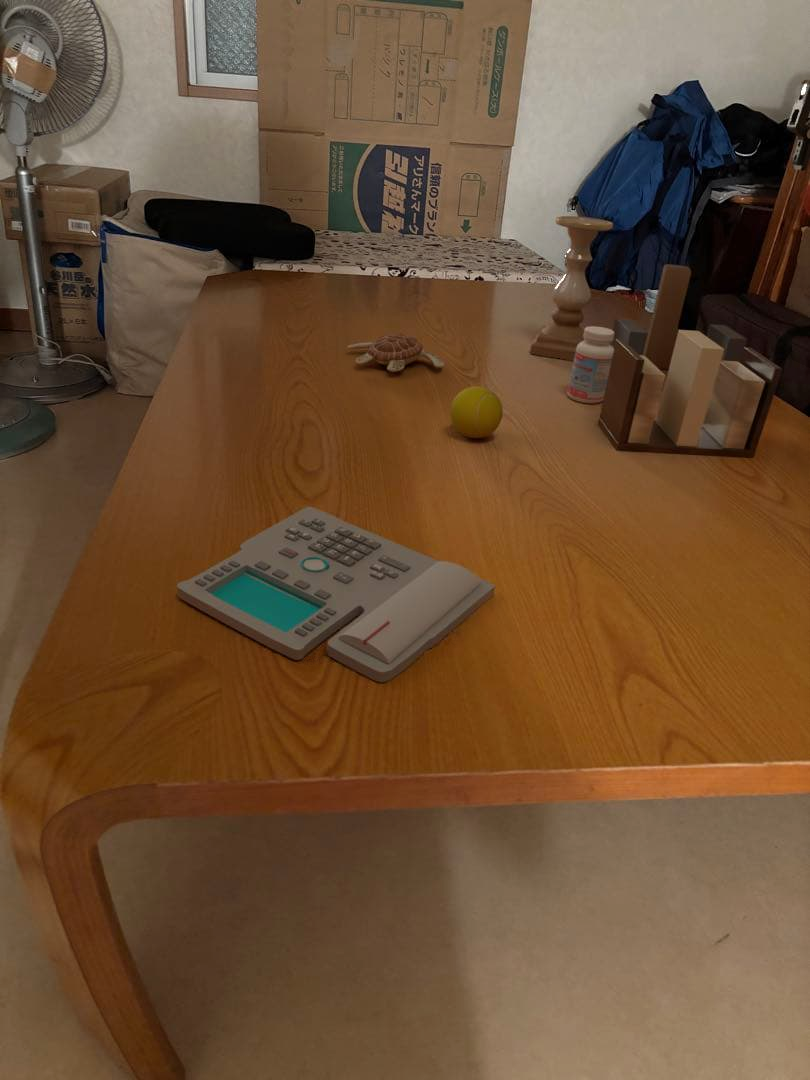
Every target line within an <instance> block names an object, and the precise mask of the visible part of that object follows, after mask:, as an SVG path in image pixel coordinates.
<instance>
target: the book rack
mask: <svg viewBox="0 0 810 1080" xmlns="http://www.w3.org/2000/svg"><path fill="white" fill-rule="evenodd" d="M782 372H783V368H782V367H780V366H779V365H778V364H776V363H774V362H773V361H771V360H770V359H768V358H767V357H765V356H764V355H762V353H760V352H757V351H756V350H755V349H753V347H746V346H745V347H744V350H743V353H742V356H741V360H740V363H739V362H737V361H721V363H720V366H719V370H718V373H717V377H716V380H715V384H714V387H713V391H712V394H711V398H710V401H709V405H708V408H707V412H706V415H705V419H704V422H703V426H702V429H701V433H700V436H699V440H698V443H697V446H696V447H692V446H676V445H675V444H674V442H673V441H672V440H671V439H670V438H669V437H668V436H667V435H666V433H665V432H664V431H663V430H662V429H661V428H660V427H659V426H658V424H657V423H656V416H657V415H656V414H657V412H658V411H657V410H658V408H659V407H658V406H659V404H660V400H661V399H660V398H661V396H662V392H663V388H664V384H665V380H666V374H665V373H664V372H662V371H661V369H658V368H657V367H656V366H655V365H654V364H653V363H652V362H651V361H650V360H649V359H648V358H646V357H645V356H643V355H639V354H638V353H637V352H636V351H634V350H633V349H632V348H631V347H630V346H629V345H628V344H627V343H626V342H625V341H624V340H623V339H616V343H615V348H614V352H613V357H612V362H611V366H610V371H609V376H608V380H607V385H606V390H605V394H604V399H603V401H602V404H601V407H600V413H599V418H598V423H597V424H598V426H599V427H600V429H601V430H602V433H604V435H605V436H606V438H607V439H608V440H609V442H610V443H611V444H612V446H613V448H614V449H615V450H616V451H621V452H638V453H639V452H640V453H658V454H661V453H662V454H675V455H676V454H678V455H679V454H680V455H697V456H713V457H730V458H731V457H732V458H753V459H754V457H755V454H756V451H757V448H758V445H759V442H760V440H761V436H762V433H763V430H764V428H765V424H766V421H767V419H768V414H769V412H770V408H771V405H772V402H773V399H774V396H775V393H776V391H777V387H778V384H779V381H780V378H781V375H782Z"/></svg>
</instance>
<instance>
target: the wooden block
mask: <svg viewBox="0 0 810 1080" xmlns="http://www.w3.org/2000/svg"><path fill="white" fill-rule="evenodd" d="M691 275H692V270H691V268H690V267H689V266H688V265H678V264H671V263H670V264H669V263H665V264H664V265H663V268H662V273H661V277H660V281H659V285H658V290H657V293H656V294H657V295H656V298H655V303H654V306H653V311H652V316H651V319H650V324H649V328H648V331H647V332H648V335H647V339H646V344H645V348H644V352H643V356H645V357H646V358H648V359H649V360H650V361H651V362H652V363H653V364H654V365H655V366H656V367H657V368H658V369H659V370H666V371H669V367H670V363H671V359H672V355H673V351H674V347H675V343H676V339H677V335H678V331H679V323H680V320H681V316H682V312H683V308H684V304H685V301H686V300H685V299H686V296H687V292H688V289H689V283H690V278H691V277H692V276H691Z"/></svg>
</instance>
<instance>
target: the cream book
mask: <svg viewBox="0 0 810 1080" xmlns="http://www.w3.org/2000/svg"><path fill="white" fill-rule="evenodd" d="M723 352H724V349H723V348H722V347H720V346H719V345H718V344H716V343H715V342H713V341H712V340H711V339H709V338H708V337H706V335H705V334H704V333H702V332H701V331H699V330H687V329H678V335H677V339H676V343H675V347H674V351H673V355H672V359H671V363H670V367H669V370H667V375H666V378H665V382H664V386H663V389H662V393H661V397H660V398H661V399H660V401H659V405H658V406H659V407H658V409H657V410H658V411H657V413H656V414H657V415H656V417H655V421H656V423H657V424H658V426H659V427H660V428H661V429H662V430H663V431H664V432H665V433H666V435H667V436H668V437H669V438H670V439H671V440H672V441H673V442H674V444H675V445H676V446H692V447H696V446H697V443H698V440H699V436H700V433H701V429H702V426H703V422H704V419H705V415H706V412H707V408H708V405H709V401H710V398H711V394H712V391H713V387H714V384H715V380H716V377H717V373H718V370H719V366H720V363H721V359H722V356H723Z"/></svg>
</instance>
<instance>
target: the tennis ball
mask: <svg viewBox="0 0 810 1080" xmlns="http://www.w3.org/2000/svg"><path fill="white" fill-rule="evenodd" d="M503 411H504V410H503V405H502V402H501V400H500V398H499V396H498V395H497V394H496V393H495V392H493V391H492V390H491V389H488V388H486V387H483V386H478V385H477V386H475V385H473V386H469V387H466V388H464V389H462V390H461V391H459V392H458V393H457V394H456V396H455V397H454V398H453V401H452V403H451V406H450V419H451V423H452V426H453V427H454V428H455V430H456V431H457V432H459V434H461V435H463V436H465V437H466V438H469V439H482V438H486V437H488V436H489V435H491V434H493V433H494V432H495V431H496V430H497V429H498V427H500V424H501V422H502V420H503Z"/></svg>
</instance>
